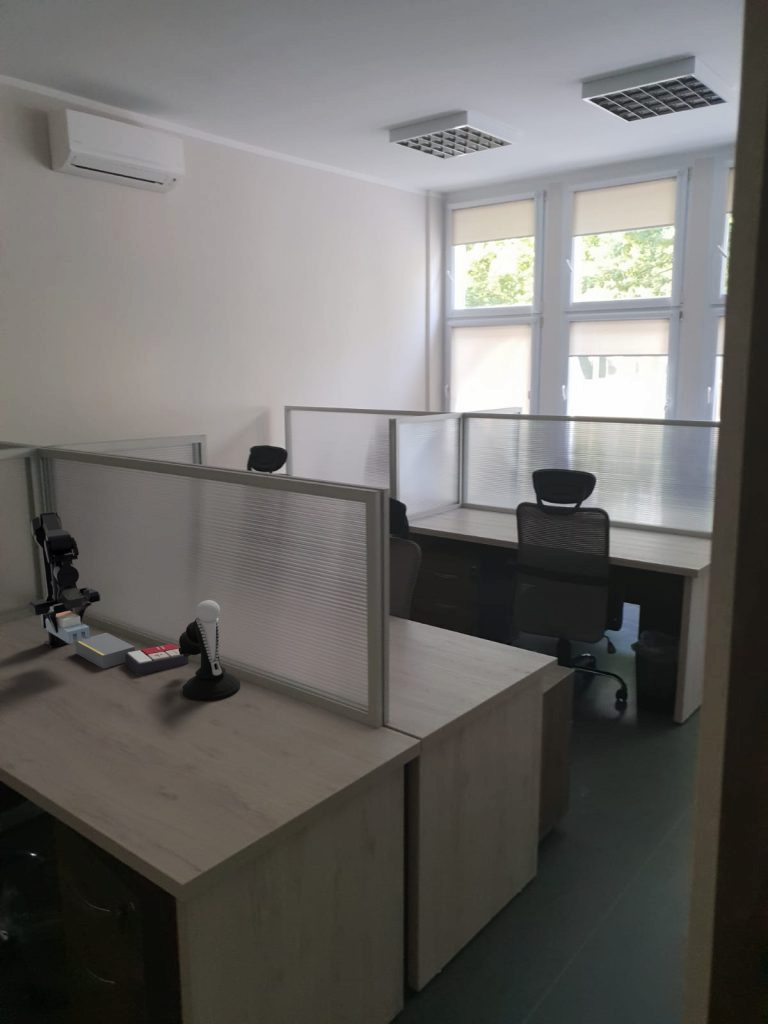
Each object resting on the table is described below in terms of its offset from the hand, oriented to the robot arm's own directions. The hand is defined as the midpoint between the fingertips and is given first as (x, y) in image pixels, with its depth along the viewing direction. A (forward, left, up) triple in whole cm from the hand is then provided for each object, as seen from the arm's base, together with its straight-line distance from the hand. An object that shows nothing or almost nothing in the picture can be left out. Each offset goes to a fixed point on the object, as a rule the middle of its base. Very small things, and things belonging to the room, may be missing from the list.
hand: (67, 629), depth 226 cm
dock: (0, +11, -11) cm, 15 cm away
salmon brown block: (-2, 0, +2) cm, 3 cm away
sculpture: (+40, +20, -11) cm, 46 cm away
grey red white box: (+17, +18, -12) cm, 28 cm away
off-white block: (+2, 0, +2) cm, 3 cm away
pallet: (0, 0, -1) cm, 1 cm away
